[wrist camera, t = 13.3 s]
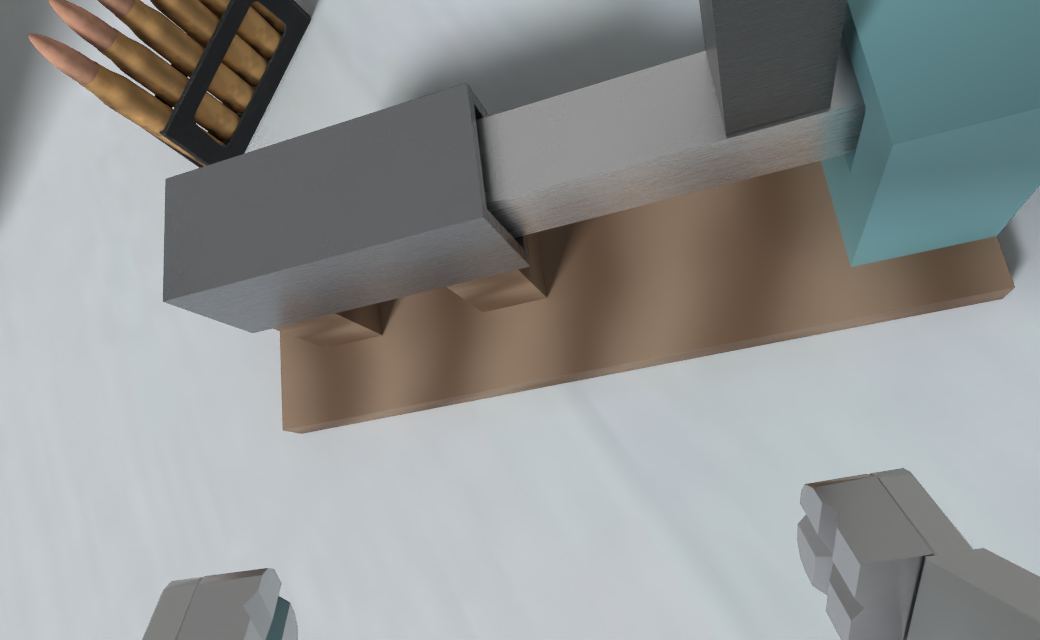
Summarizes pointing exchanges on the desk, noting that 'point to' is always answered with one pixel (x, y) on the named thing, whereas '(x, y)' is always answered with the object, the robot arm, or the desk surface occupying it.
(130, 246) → the desk surface
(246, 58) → the ammunition clip
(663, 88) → the dark grey upright post
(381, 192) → the outer sleeve
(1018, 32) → the socket block
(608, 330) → the base board
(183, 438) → the desk surface
